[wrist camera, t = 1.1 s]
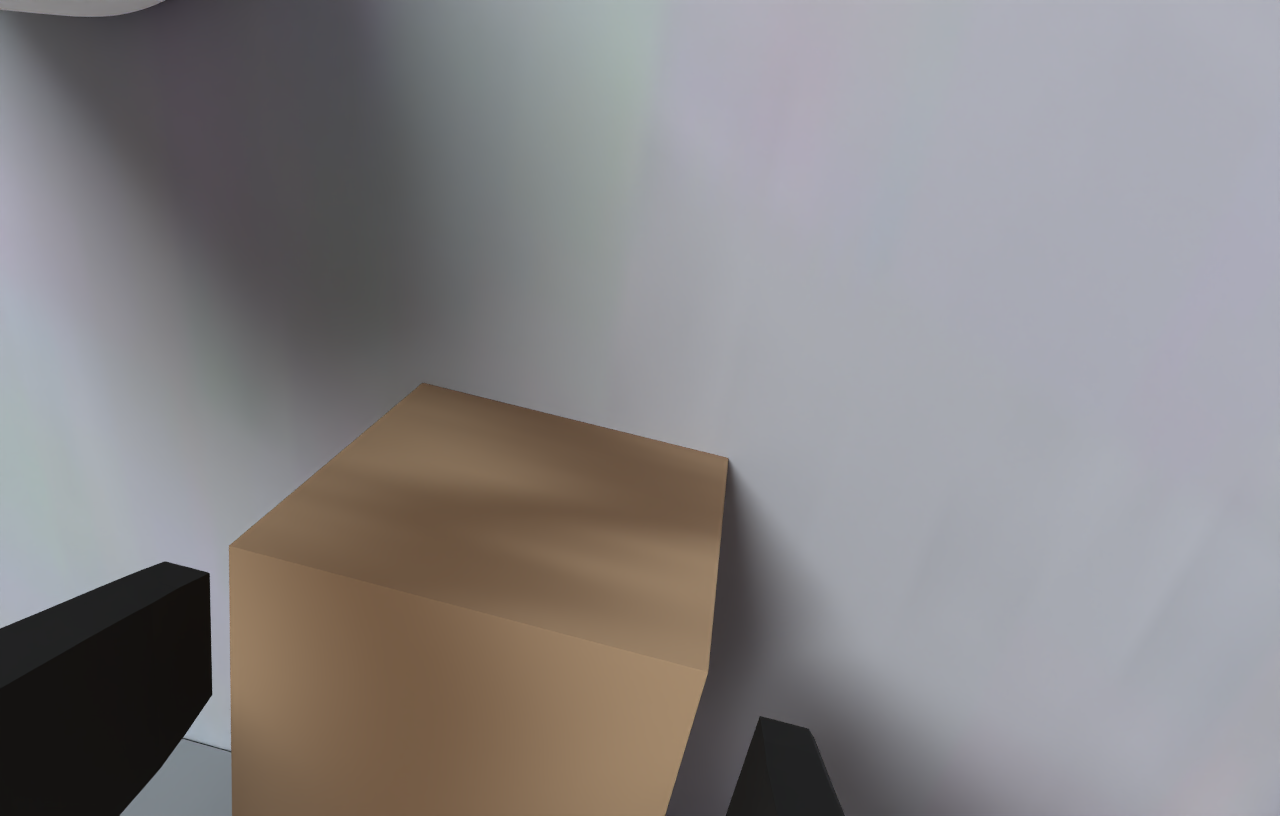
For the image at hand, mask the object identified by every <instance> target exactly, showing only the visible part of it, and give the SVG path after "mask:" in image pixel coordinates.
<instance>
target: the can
mask: <svg viewBox="0 0 1280 816" xmlns="http://www.w3.org/2000/svg"><path fill="white" fill-rule="evenodd" d="M163 1H165V0H0V10H8V11H18V12H28V13H38V14H50V15H62V16H74V17H105V16H115V15H122V14H127V13H132V12H136V11H139V10H142V9H146V8H148V7H151V6H154V5H156V4H158V3H161V2H163Z"/></svg>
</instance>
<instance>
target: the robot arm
mask: <svg viewBox="0 0 1280 816" xmlns="http://www.w3.org/2000/svg"><path fill="white" fill-rule="evenodd" d="M211 696H212V662H211V617H210V573H208V572H204V571H200V570H196V569H192V568H188V567H185V566H181V565H177V564H173V563H169V562H162V563H159V564H157V565H154V566H151V567H149V568H146V569H143V570H141V571H138V572H136V573H133V574H131V575H128V576H126V577H123V578H121V579H118V580H116V581H113V582H111V583H109V584H106V585H104V586H101V587H99V588H96V589H94V590H92V591H89V592H87V593H85V594H82V595H80V596H77V597H75V598H73V599H70V600H68V601H66V602H63V603H61V604H58V605H56V606H54V607H51V608H49V609H47V610H44V611H42V612H39V613H37V614H35V615H32V616H30V617H27V618H25V619H22V620H20V621H18V622H15V623H13V624H10V625H8V626H6V627H3V628H1V629H0V816H120V814H121V813H122V812H123V811H124V810H125V809H126V808H127V806H128V805H129V804H130V803H131V802H132V801H133V800H134V798H135V797H136V796H137V795H138V794H139V793H140V792H141V791H142V789H143V788H144V787H145V786H146V785H147V784H148V782H149V781H150V780H151V779H152V778H153V777H154V775H155V774H156V773H157V772H158V771H159V770H160V768H161V767H162V766H163V764H164V763H165V762H166V760H167V759H168V757H169V756H170V755H171V753H172V752H173V751H174V749H175V748H176V746H177V745H178V744H179V742H180V741H181V739H182V738H183V737H184V735H185V734H186V732H187V731H188V730H189V728H190V727H191V725H192V724H193V722H194V721H195V719H196V718H197V716H198V715H199V713H200V712H201V710H202V709H203V707H204V706H205V704H206V703H207V702H208V700H209V699H210V697H211ZM726 816H845V815H844V812H843V810H842V808H841V805H840V803H839V800H838V798H837V795H836V793H835V790H834V788H833V786H832V783H831V780H830V778H829V775H828V773H827V770H826V768H825V765H824V762H823V760H822V757H821V755H820V752H819V749H818V747H817V744H816V741H815V739H814V737H813V735H812V734H811V732H810V730H809V729H807V728H803V727H799V726H795V725H792V724H788V723H784V722H780V721H776V720H772V719H769V718H765V717H761V716H760V718H759V721H758V723H757V726H756V729H755V732H754V735H753V738H752V741H751V744H750V747H749V750H748V752H747V755H746V758H745V761H744V764H743V767H742V770H741V773H740V776H739V779H738V781H737V784H736V787H735V790H734V793H733V796H732V799H731V802H730V805H729V808H728V810H727V813H726Z"/></svg>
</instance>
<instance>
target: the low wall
mask: <svg viewBox="0 0 1280 816" xmlns="http://www.w3.org/2000/svg"><path fill="white" fill-rule="evenodd" d="M120 816H232V771H231V752H228V751H225V750H221V749H217V748H214V747H210V746H207V745H203V744H199V743H196V742H192V741H189V740H185V739H181V741H180V742H179V744H178V745H177V746H176V748H175V749H174V751H173V752H172V753H171V755H170V756H169V757H168V759H167V760H166V762H165V763H164V764H163V766H162V767H161V768H160V770H159V771H158V772H157V773H156V774H155V775H154V777H153V778H152V779H151V780H150V781H149V782H148V784H147V785H146V786H145V787H144V788H143V789H142V791H141V792H140V793H139V794H138V795H137V796H136V797H135V798H134V800H133V801H132V802H131V803H130V804H129V805H128V806H127V808H126V809H125V810H124V811H123V812H122V813H121V814H120Z"/></svg>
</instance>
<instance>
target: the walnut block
mask: <svg viewBox="0 0 1280 816" xmlns="http://www.w3.org/2000/svg"><path fill="white" fill-rule="evenodd" d="M727 467H728V458H726V457H722V456H718V455H714V454H710V453H706V452H702V451H698V450H694V449H690V448H686V447H682V446H678V445H673V444H669V443H665V442H661V441H657V440H653V439H649V438H645V437H641V436H637V435H633V434H629V433H625V432H621V431H617V430H613V429H608V428H604V427H600V426H596V425H592V424H588V423H584V422H580V421H576V420H572V419H568V418H564V417H560V416H556V415H552V414H548V413H544V412H539V411H535V410H531V409H527V408H523V407H519V406H515V405H511V404H507V403H503V402H499V401H495V400H491V399H487V398H483V397H479V396H474V395H470V394H466V393H462V392H458V391H454V390H450V389H446V388H442V387H438V386H434V385H430V384H426V383H422V384H421V385H419V386H418V387H417V388H416V389H415V390H413V391H412V392H411V393H410V394H409V395H408V396H406V397H405V398H404V399H403V400H402V401H400V402H399V403H398V404H397V405H396V406H394V407H393V408H392V409H391V410H390V411H389V412H387V413H386V414H385V415H384V416H383V417H381V418H380V419H379V420H378V421H377V422H375V423H374V424H373V425H372V426H371V427H370V428H368V429H367V430H366V431H365V432H364V433H362V434H361V435H360V436H359V437H358V438H356V439H355V440H354V441H353V442H352V443H351V444H349V445H348V446H347V447H346V448H345V449H343V450H342V451H341V452H340V453H339V454H337V455H336V456H335V457H334V458H333V459H332V460H330V461H329V462H328V463H327V464H326V465H324V466H323V467H322V468H321V469H320V470H318V471H317V472H316V473H315V474H314V475H313V476H311V477H310V478H309V479H308V480H307V481H305V482H304V483H303V484H302V485H301V486H299V487H298V488H297V489H296V490H295V491H294V492H292V493H291V494H290V495H289V496H288V497H286V498H285V499H284V500H283V501H282V502H280V503H279V504H278V505H277V506H276V507H275V508H273V509H272V510H271V511H270V512H269V513H267V514H266V515H265V516H264V517H263V518H261V519H260V520H259V521H258V522H257V523H256V524H254V525H253V526H252V527H251V528H250V529H248V530H247V531H246V532H245V533H244V534H242V535H241V536H240V537H239V538H238V539H237V540H235V541H234V542H233V543H232V544H231V545H229V585H230V678H231V771H232V816H665V814H666V810H667V807H668V804H669V800H670V797H671V794H672V791H673V787H674V784H675V781H676V777H677V774H678V771H679V767H680V764H681V761H682V757H683V754H684V751H685V747H686V744H687V741H688V737H689V734H690V731H691V727H692V724H693V721H694V717H695V714H696V711H697V708H698V704H699V701H700V698H701V694H702V691H703V688H704V684H705V681H706V678H707V674H708V669H709V658H710V648H711V637H712V626H713V616H714V605H715V595H716V584H717V573H718V563H719V552H720V541H721V531H722V520H723V510H724V499H725V488H726V478H727Z"/></svg>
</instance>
